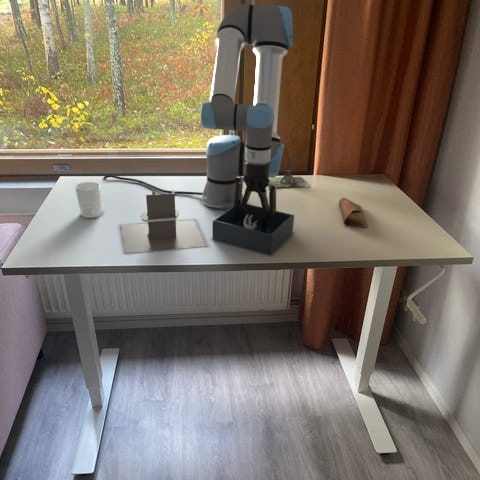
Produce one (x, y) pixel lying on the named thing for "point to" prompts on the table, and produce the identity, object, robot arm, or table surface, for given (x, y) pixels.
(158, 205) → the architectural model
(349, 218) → the sunglasses case
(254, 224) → the soldier figure
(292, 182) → the eiffel tower figurine
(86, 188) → the white cup
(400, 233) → the table surface
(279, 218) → the tote
